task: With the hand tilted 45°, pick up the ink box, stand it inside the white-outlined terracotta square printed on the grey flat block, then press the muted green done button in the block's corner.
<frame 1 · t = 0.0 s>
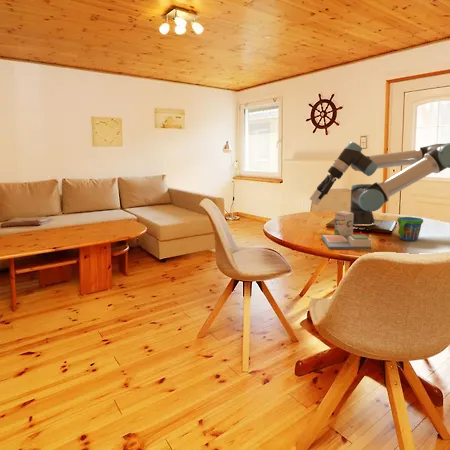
hand: (312, 202, 193), 15 cm above the table, tool tilted 35°, fingers open, 13 cm apart
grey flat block: (344, 243, 167), on the table
ink box: (343, 235, 183), on the table
snack cup: (408, 240, 170), on the table
done button: (359, 238, 159), point 4 cm above the table, slide at 0.0 cm
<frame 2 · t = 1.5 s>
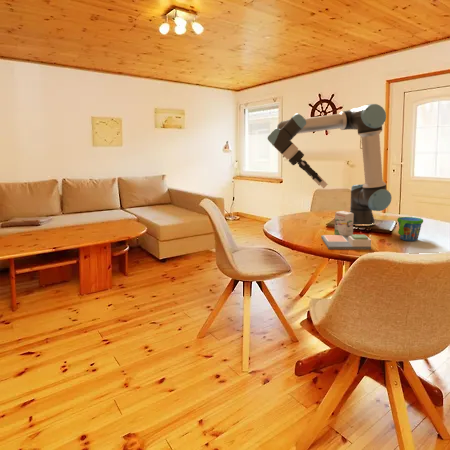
hand: (323, 185, 179), 26 cm above the table, tool tilted 45°, fingers open, 13 cm apart
nothing on the table moved.
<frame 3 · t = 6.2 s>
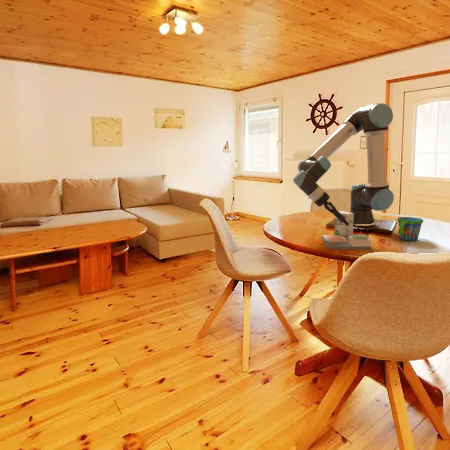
hand: (350, 227, 181), 4 cm above the table, tool tilted 45°, fingers closed on ink box, 9 cm apart
ink box: (343, 235, 183), on the table, touching gripper
everything else where it was.
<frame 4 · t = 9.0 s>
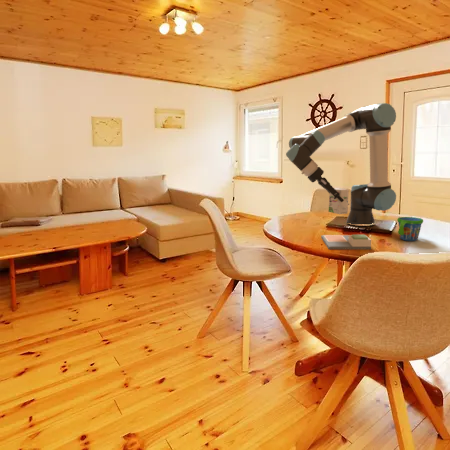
hand: (344, 204, 173), 17 cm above the table, tool tilted 45°, fingers closed on ink box, 9 cm apart
ink box: (337, 213, 174), point 12 cm above the table, touching gripper
everything else where it was.
when the fingers open (7 cm above the table, at t = 11.7 s): ink box drops 1 cm, resting on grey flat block.
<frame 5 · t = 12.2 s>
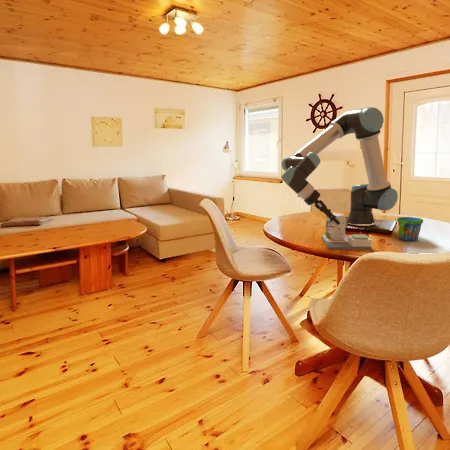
hand: (340, 225, 169), 8 cm above the table, tool tilted 45°, fingers open, 13 cm apart
ink box: (335, 238, 171), point 1 cm above the table, touching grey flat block
everything else where it was.
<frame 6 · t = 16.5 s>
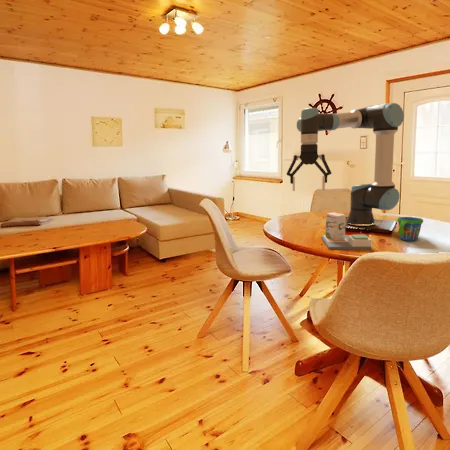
hand: (308, 190, 168), 24 cm above the table, tool pointing down, fingers open, 13 cm apart
nothing on the table moved.
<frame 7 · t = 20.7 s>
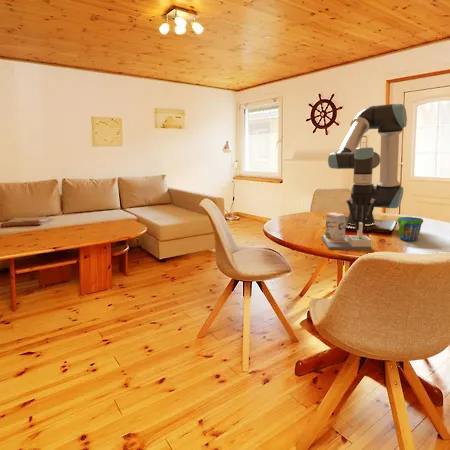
hand: (359, 237, 159), 5 cm above the table, tool pointing down, fingers closed
done button: (359, 240, 159), point 3 cm above the table, slide at 0.8 cm, touching gripper
everything else where it was.
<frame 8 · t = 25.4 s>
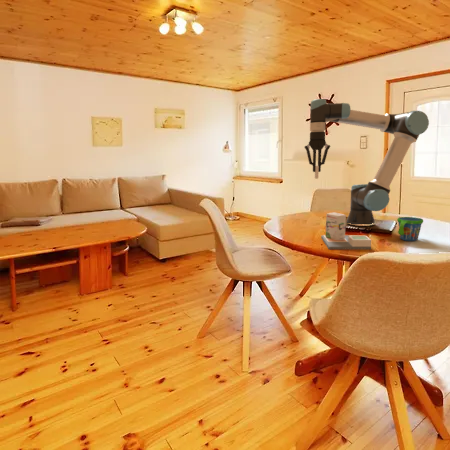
hand: (316, 178, 186), 28 cm above the table, tool pointing down, fingers closed
done button: (359, 240, 159), point 3 cm above the table, slide at 1.0 cm
everything else where it was.
at the end: ink box 0.1 cm from the target spot, point 1.2 cm above the table; ink box tilted 0°; done button slide at 1.0 cm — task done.
